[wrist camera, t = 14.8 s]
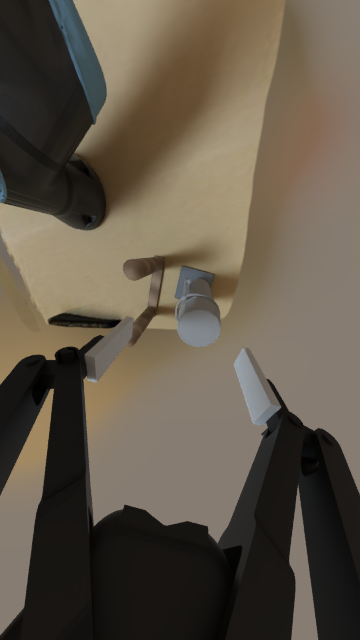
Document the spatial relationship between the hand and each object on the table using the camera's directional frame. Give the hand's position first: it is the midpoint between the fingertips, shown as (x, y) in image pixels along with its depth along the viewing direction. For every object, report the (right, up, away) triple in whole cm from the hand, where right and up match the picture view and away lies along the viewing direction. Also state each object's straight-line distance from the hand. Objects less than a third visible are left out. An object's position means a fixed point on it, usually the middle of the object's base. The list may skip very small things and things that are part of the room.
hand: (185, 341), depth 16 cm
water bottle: (+5, +13, +26) cm, 30 cm away
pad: (+4, +13, +27) cm, 30 cm away
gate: (-9, +13, +29) cm, 33 cm away
